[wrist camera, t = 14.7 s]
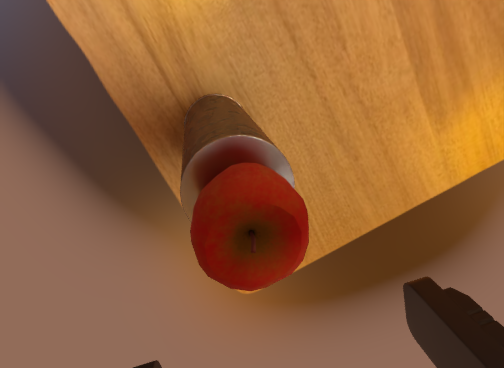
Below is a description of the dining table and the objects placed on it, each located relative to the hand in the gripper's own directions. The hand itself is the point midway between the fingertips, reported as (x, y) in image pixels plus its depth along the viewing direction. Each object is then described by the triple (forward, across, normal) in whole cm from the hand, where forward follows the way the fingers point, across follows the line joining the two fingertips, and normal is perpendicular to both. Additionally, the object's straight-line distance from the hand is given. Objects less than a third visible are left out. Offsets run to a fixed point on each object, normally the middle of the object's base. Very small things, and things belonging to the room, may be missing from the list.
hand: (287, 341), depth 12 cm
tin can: (+36, 0, 0) cm, 36 cm away
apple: (+14, 0, 0) cm, 14 cm away
